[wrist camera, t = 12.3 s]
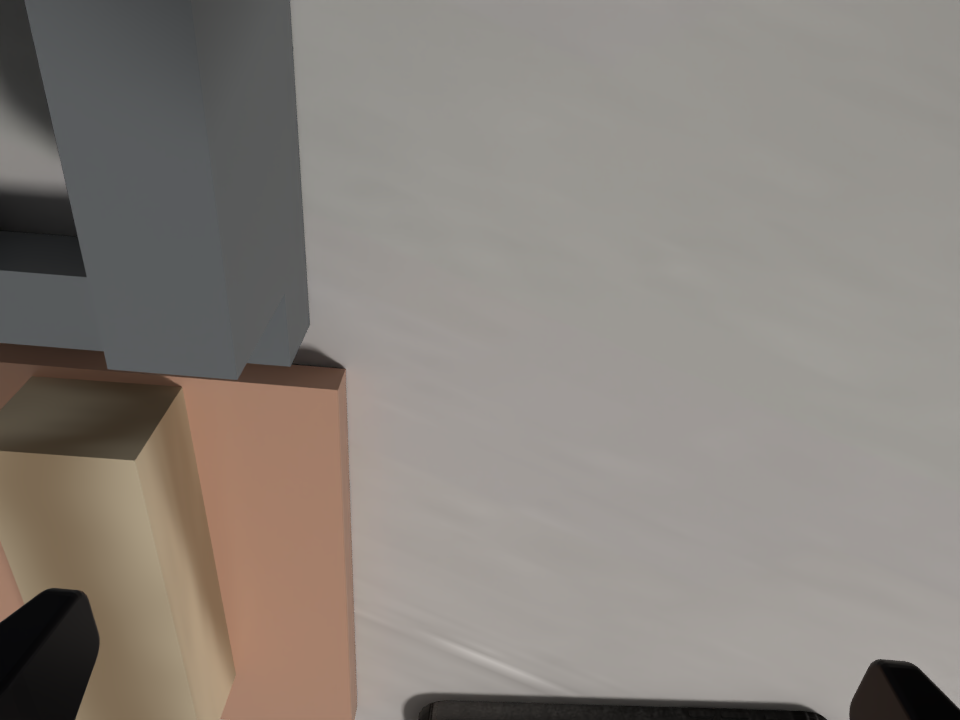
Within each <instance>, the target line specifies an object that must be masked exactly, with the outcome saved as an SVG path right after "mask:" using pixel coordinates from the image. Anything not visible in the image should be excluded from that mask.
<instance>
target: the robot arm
mask: <svg viewBox="0 0 960 720" xmlns="http://www.w3.org/2000/svg"><path fill="white" fill-rule="evenodd" d="M99 646H100V637H99V632H98V629H97V625H96V622H95V619H94V615H93V612H92V608H91V605H90V602H89V599H88V596H87V595H86V594H85V593H84V592H83V591H81V590H74V589H62V588H50V589H46V590H44V591H42V592H41V593H39V594H38V595H36V596H35V597H34V598H32V599H31V600H30V601H28V602H27V603H26V604H24V605H23V606H22V607H20V608H19V609H17V610H16V611H15V612H13V613H12V614H11V615H9V616H8V617H7V618H5V619H4V620H3V621H1V622H0V720H75V719H76V716H77V713H78V711H79V708H80V705H81V702H82V699H83V696H84V694H85V691H86V688H87V685H88V682H89V679H90V677H91V674H92V671H93V668H94V665H95V662H96V659H97V656H98V652H99ZM849 716H850V720H960V709H959V708H958V707H957V706H956V705H955V704H954V703H953V702H952V701H951V700H950V699H949V698H948V697H947V696H946V695H945V694H944V693H943V692H942V691H941V690H940V689H939V688H938V687H937V686H936V685H935V684H934V683H933V682H932V681H931V680H930V679H929V678H928V677H927V676H926V675H925V674H924V673H923V672H922V671H921V670H920V669H919V668H918V667H917V666H915V665H914V664H912V663H909V662H905V661H895V660H883V659H878V660H875V661H874V662H872V663H871V664H870V666H869V667H868V669H867V671H866V673H865V675H864V677H863V679H862V681H861V683H860V685H859V687H858V689H857V691H856V693H855V695H854V697H853V699H852V702H851V705H850V713H849Z"/></svg>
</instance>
